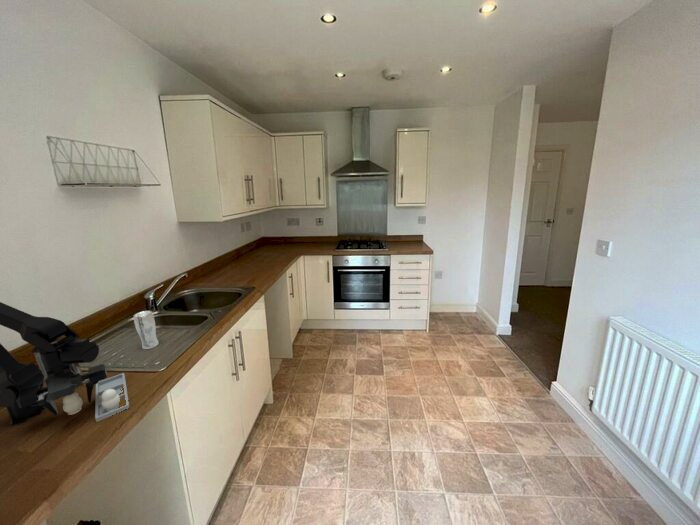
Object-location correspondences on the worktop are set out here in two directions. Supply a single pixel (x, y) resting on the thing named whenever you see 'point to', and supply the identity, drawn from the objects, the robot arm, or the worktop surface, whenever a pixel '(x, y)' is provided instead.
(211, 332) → the worktop surface
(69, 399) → the cream stacked ball figurine
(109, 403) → the white drawer knob
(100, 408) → the gray divided compartment tray
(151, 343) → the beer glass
